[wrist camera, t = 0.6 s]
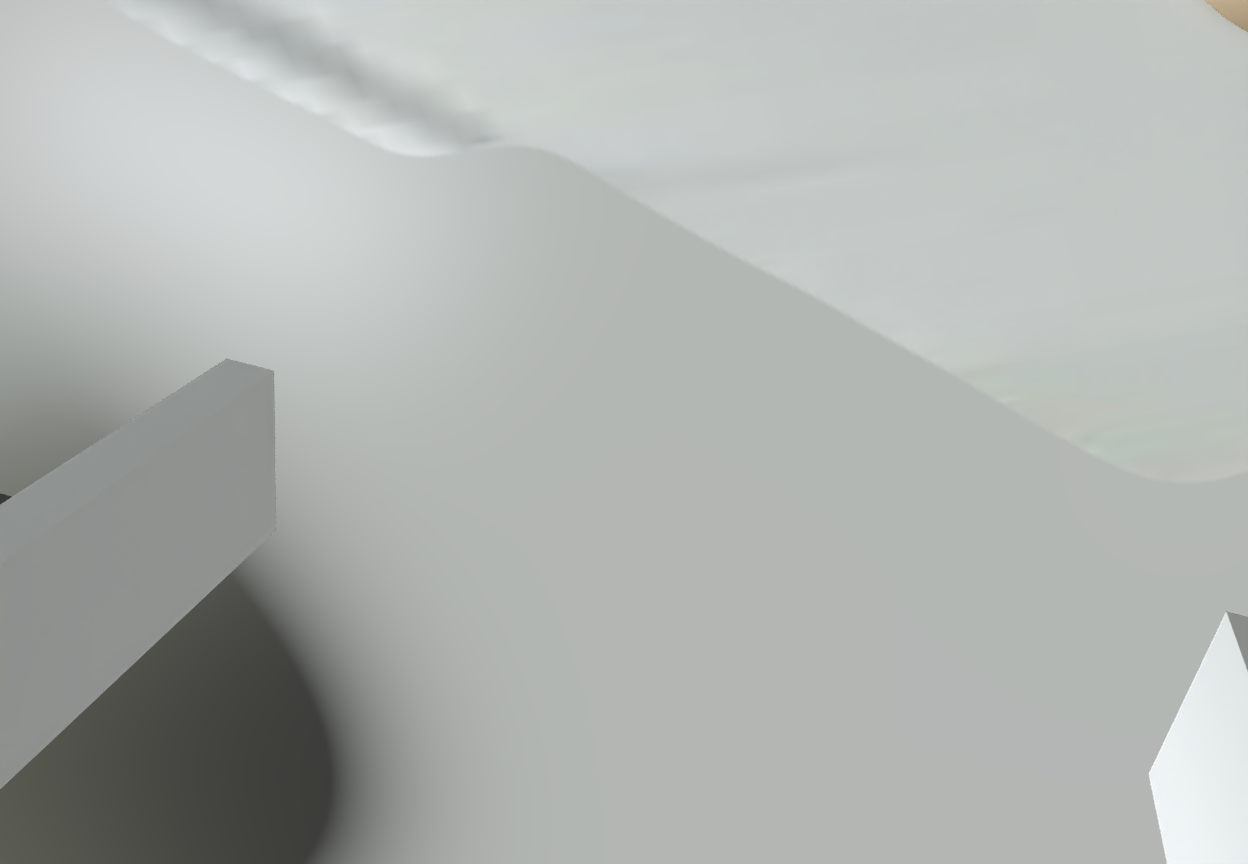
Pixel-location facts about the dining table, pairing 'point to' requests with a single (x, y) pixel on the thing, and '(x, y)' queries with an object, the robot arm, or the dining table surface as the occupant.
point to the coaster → (1232, 11)
